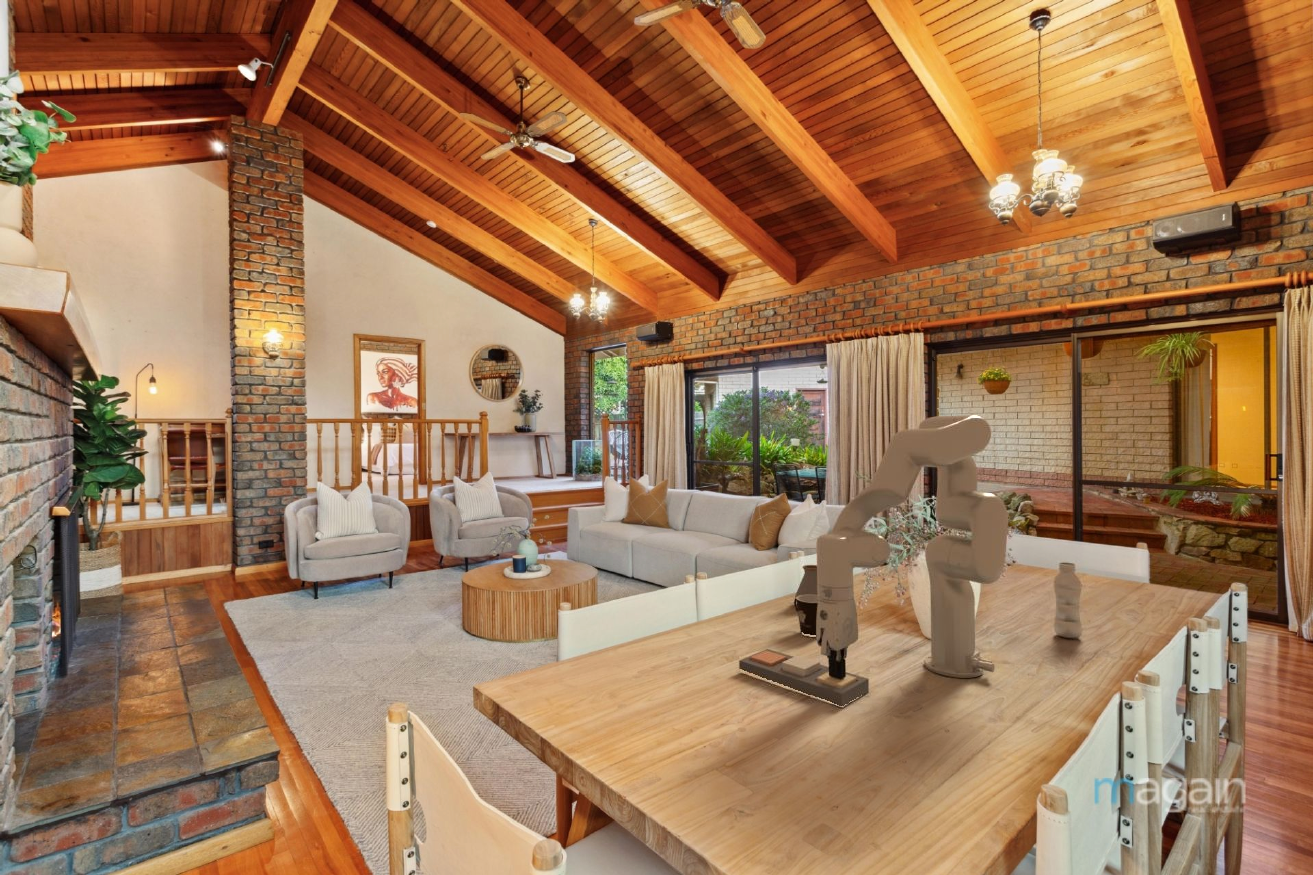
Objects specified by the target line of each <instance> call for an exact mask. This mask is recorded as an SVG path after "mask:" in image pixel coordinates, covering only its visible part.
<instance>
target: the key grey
mask: <svg viewBox="0 0 1313 875" xmlns="http://www.w3.org/2000/svg"><path fill="white" fill-rule="evenodd" d="M820 663H821V662H820V661H817V660H814V659H811V658H807V657H804V656H801V655H796V656H793V658H791V659H788V660H786V661H784V662H782V670H784V671H787V672H790V673H793V674H796V675H799V676H802V677H808V676H810V675H812V674H814V673H816V672H818V671H820V665H821V664H820Z"/></svg>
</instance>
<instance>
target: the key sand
mask: <svg viewBox="0 0 1313 875" xmlns="http://www.w3.org/2000/svg"><path fill="white" fill-rule="evenodd" d="M817 681H818V682H821V683H824V684H827V685H831V686H834V687H837V688H840V689H844V688H846V687H848V686H849V685H851V684H853V683H855V682H856V677H853V676H849V675H846V677H845V678H843V679H838V678H834V677H831V676H829V672H827V673H825V674H823V675H821V676H819V677H817Z"/></svg>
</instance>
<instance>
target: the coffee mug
mask: <svg viewBox="0 0 1313 875" xmlns="http://www.w3.org/2000/svg"><path fill="white" fill-rule="evenodd" d="M818 600H819V599H818V595H800V596H797V597H796V598H795V597H794V601H793V607H795V610H796V613H797V615H798V622H799V628H800V630H801V631H800V633H801V632H803V633H804V634H810V635H816V620H817V607H818Z"/></svg>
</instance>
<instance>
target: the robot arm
mask: <svg viewBox="0 0 1313 875" xmlns="http://www.w3.org/2000/svg"><path fill="white" fill-rule="evenodd" d="M991 438H992V429H991V426H990V424H989V422H988V421H987V420H986V419H985V418H983V417H981V416H978V415H974V414H973V415H972V414H971V415H970V414H969V415H968V414H967V415H964V414H963V415H938V416H933V417H927V418H926V419H924V420H922V421H921V422H920V423H919V424H918V428H909V429H902V430H900V431H897V432H896V433H895V434H894V435H893V436H892V437H891V440H890V442H889V443H888V445H887V447H886V450H885V452H884V453H883V456H882V459H881V461H880V463H879V465H878V467H877V469H876V471H875V473H874V476H873V478H872V479H871V481H870V483H869V484H868V485H867V486H866V487H865V488H864V489H863V490H861V491H860V492H859V493H857V495H855V497H853V498H852V499H851V500H850V501H849V502H848V503H847V504H846V505H845V506H844V507H843V509H842V510H841V511H840V514H839V515H838V517H837V519H836V522H835V523H834V525H833V527H832V530H831V533H829V534H821V535H820V536H818V538H817V539H816V565H817V591H818V599H819V600H818V607H817V620H816V637H817V638H816V643H817V645H818V646H819V647H820V655H823V656H826V658H827V659H828V660H827V661H828V667H829V676H831V677H834V678H838V679H843V678H845V677H846V672H847V670H846V665H847V664H846V659H847V657H848V656H847V655H848V654H847V653H848V647H849V646H851V645H852V644H855V643H856V642H857V641H858V640H859V624H858V612H857V605H856V600H855V597H854V592H855V591H854V569H855V568H858V569H860V568H862V569H863V568H864V569H875V568H879V567H881V566H883V565H884V564H886V563H887V562H888V560H889V558H890V556H891V546H890V544H889V542H888V541H887V540H886V538H884V537H883V536H881V535H880V534H876V533H873V532H869V531H865V530H863V529H864V528H865V527H866V525H867V523H868V522H869V521H870V520H872V519H873V518H874V517H875V516H876V515H879V514H880V513H883V512H884V511H887V510H890V509H892V508H895V507H897V506H899V505H902V504H904V503H905V502H907V500H908V499H909V496H910V494H911V492H912V490H913V487H914V485H915V483H916V481H917V479H918V476H919V474H920V473H921V470H922V468H924V467H925V468H926V467H927V468H928V467H929V468H937V490H936V498H935V499H936V502H935V517H936V521H937V523H938V524H939V525H940V526H942V527H943V528H945V529H946V528H947V529H949V530H955V531H960V532H965V533H971V538H968V537H966V536H964V537H963V536H958V535H953V534H939V535H936V536H934V537H932V538H931V539H930V540H929V541H928V543H927V544H926V547H925V550H924V551H925V553H924V558H925V564H926V567H927V572H928V577H929V589H930V590H929V591H930V654H931V655H929V656H927V657H925V658H924V659H923V660H924V661H923V662H924V663H923V664H924V666H925V667H926V669H928V670H929V671H930V672H933V673H935V674H938V675H942V676H946V677H951V678H957V679H972V678H977V677H979V676H982V675H983V673H984V671H986V672H990V673H994V671H995V663H993V660H990V659H984V658H982V657H981V656H980V655H981V654H980V653H981V652H980V651H979V650H976V614H975V613H976V610H975V608H976V607H975V606H976V599H975V593H974V589H973V587H972V583H971V582H973V583H977V584H983V585H991V584H994V583H995V582H997V581H998V580H999V579H1000V577H1001V576H1002V575H1003V572H1004V568H1005V564H1006V563H1005V562H1006V552H1007V541H1008V540H1007V538H1008V527H1009V516H1008V515H1009V514H1008V510H1007V507H1006V505H1005V502H1003V500H1002V499H1001V498H1000V497H999V496H997V495H995V494H994V493H990V492H983V491H982V492H981V491H978V467H977V463H976V462H975V460H974V457H973V456H975V455H977V454H979V453H981V452H983V450H985V448H987V446H988V445H989V443H990V441H991Z"/></svg>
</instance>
